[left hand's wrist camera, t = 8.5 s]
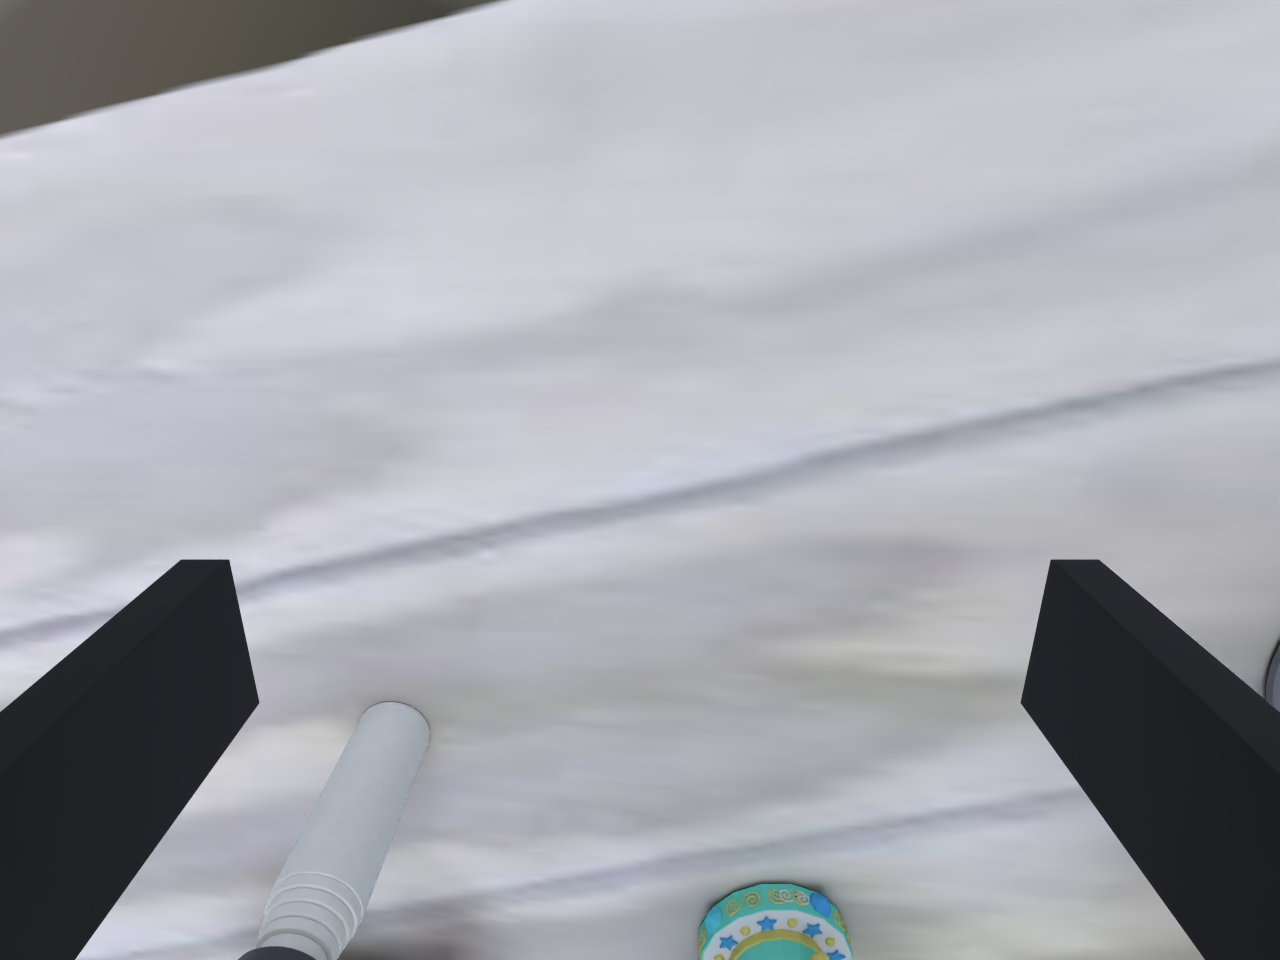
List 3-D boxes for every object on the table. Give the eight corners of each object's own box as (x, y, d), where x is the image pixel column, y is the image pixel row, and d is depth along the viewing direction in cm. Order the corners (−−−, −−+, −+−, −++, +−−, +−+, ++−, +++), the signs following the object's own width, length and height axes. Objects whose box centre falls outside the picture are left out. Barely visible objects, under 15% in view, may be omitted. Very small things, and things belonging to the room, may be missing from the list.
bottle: (348, 708, 47) (186, 1002, 30) (417, 695, 46) (291, 984, 30) (372, 765, 48) (231, 1074, 32) (439, 753, 48) (332, 1059, 31)
